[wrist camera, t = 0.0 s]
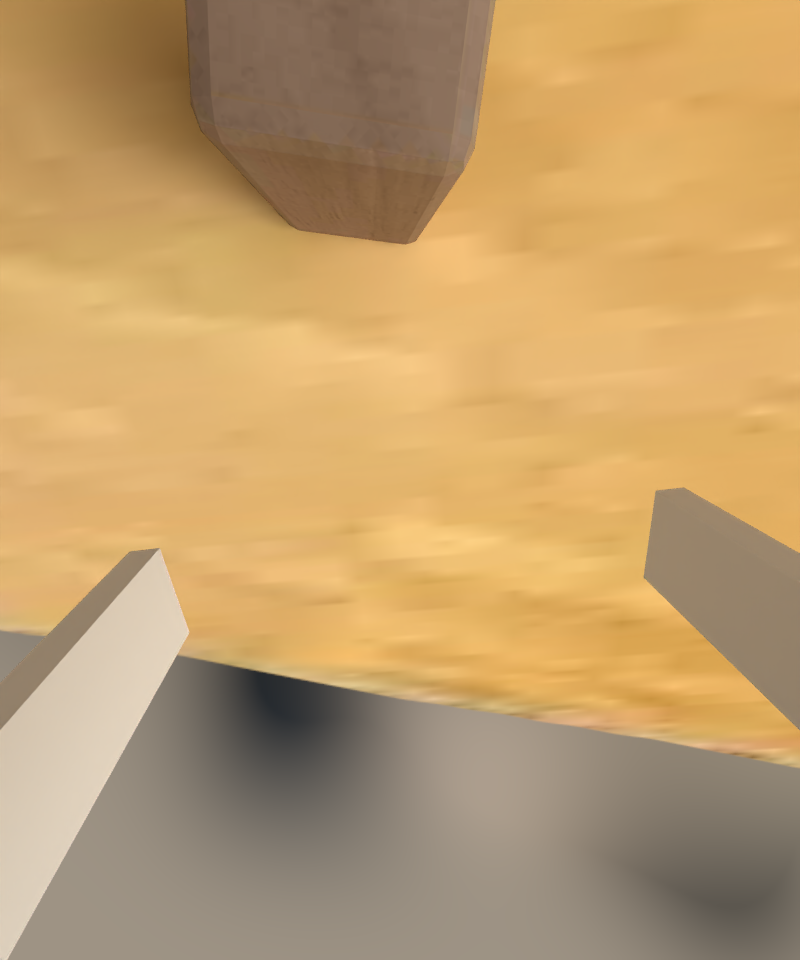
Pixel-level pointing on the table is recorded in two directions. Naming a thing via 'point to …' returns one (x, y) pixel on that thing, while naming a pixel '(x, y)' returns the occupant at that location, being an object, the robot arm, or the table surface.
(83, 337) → the table surface
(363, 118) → the wooden block
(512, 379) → the table surface
